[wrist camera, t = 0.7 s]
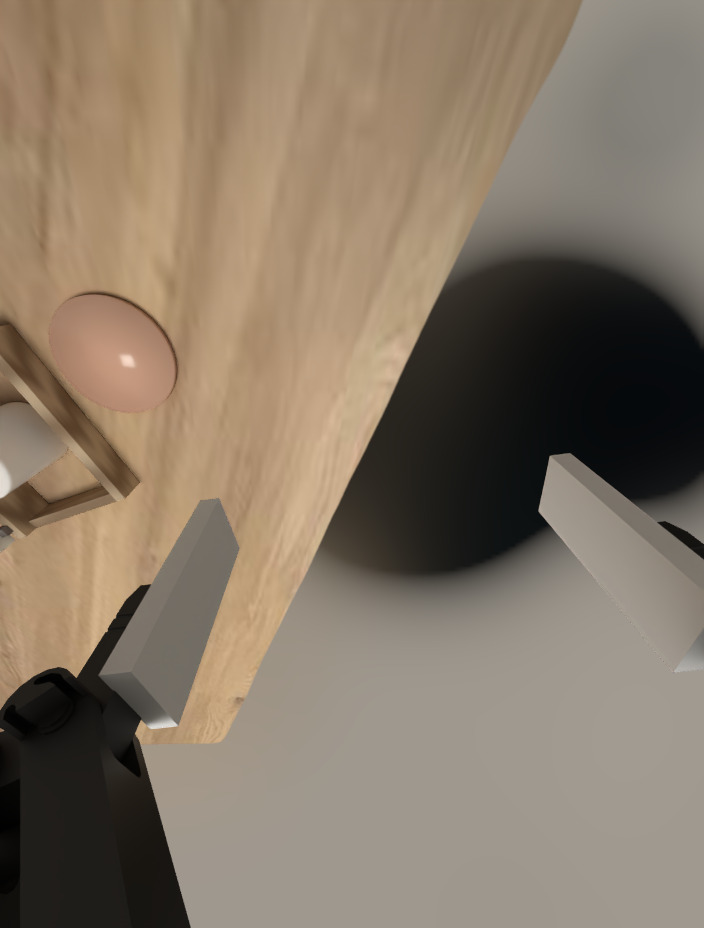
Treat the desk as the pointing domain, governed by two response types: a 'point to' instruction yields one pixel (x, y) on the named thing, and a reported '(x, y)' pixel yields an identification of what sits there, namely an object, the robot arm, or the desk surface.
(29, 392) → the frame
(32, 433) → the pill bottle
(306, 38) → the desk surface
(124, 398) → the saucer
